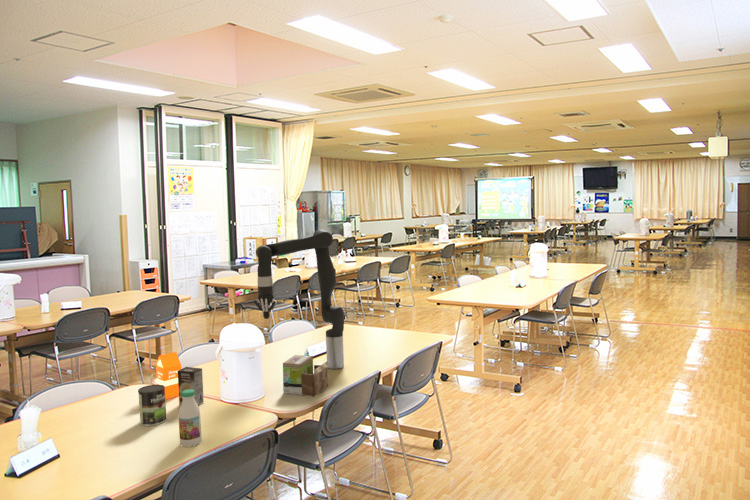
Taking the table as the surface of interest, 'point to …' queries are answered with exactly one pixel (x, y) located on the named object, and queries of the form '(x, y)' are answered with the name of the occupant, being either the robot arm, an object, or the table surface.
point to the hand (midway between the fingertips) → (266, 318)
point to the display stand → (315, 380)
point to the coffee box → (191, 383)
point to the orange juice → (168, 373)
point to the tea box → (296, 373)
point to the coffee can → (152, 405)
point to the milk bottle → (189, 420)
